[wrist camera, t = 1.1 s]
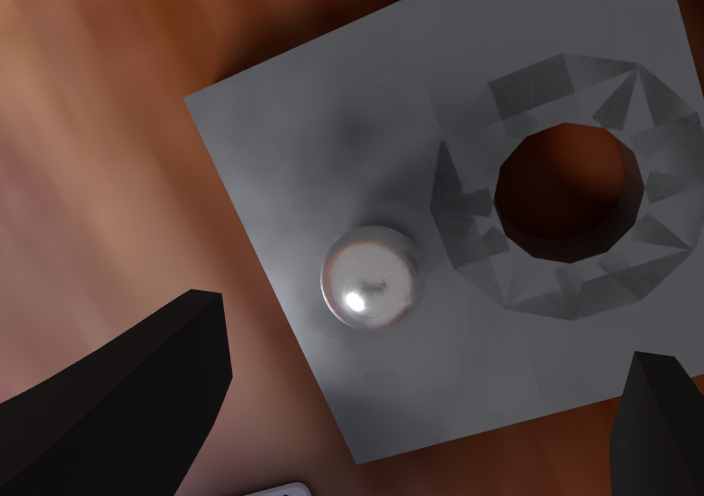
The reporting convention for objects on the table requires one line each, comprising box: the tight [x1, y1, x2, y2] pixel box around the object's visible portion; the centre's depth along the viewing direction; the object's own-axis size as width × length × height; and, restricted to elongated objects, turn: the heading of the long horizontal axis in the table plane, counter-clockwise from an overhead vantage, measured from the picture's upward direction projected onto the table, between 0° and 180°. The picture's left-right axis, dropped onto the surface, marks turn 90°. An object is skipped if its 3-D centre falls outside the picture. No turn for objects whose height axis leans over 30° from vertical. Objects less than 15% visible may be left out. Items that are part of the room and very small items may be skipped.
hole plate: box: [183, 0, 704, 465], centre depth 23 cm, size 15×15×2 cm
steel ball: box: [320, 225, 427, 332], centre depth 21 cm, size 3×3×3 cm
